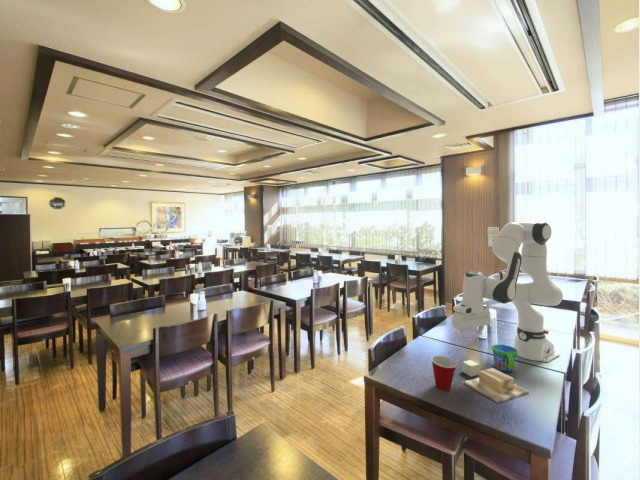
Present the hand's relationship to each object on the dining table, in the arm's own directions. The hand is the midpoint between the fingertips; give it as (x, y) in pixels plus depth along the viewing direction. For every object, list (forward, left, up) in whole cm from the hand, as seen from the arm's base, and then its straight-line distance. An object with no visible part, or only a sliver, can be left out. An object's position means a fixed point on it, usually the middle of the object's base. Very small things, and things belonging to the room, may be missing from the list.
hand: (471, 336), depth 146 cm
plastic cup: (+21, +5, -18) cm, 28 cm away
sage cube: (0, 0, -18) cm, 18 cm away
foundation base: (+1, +14, -18) cm, 23 cm away
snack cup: (-18, +3, -18) cm, 26 cm away
